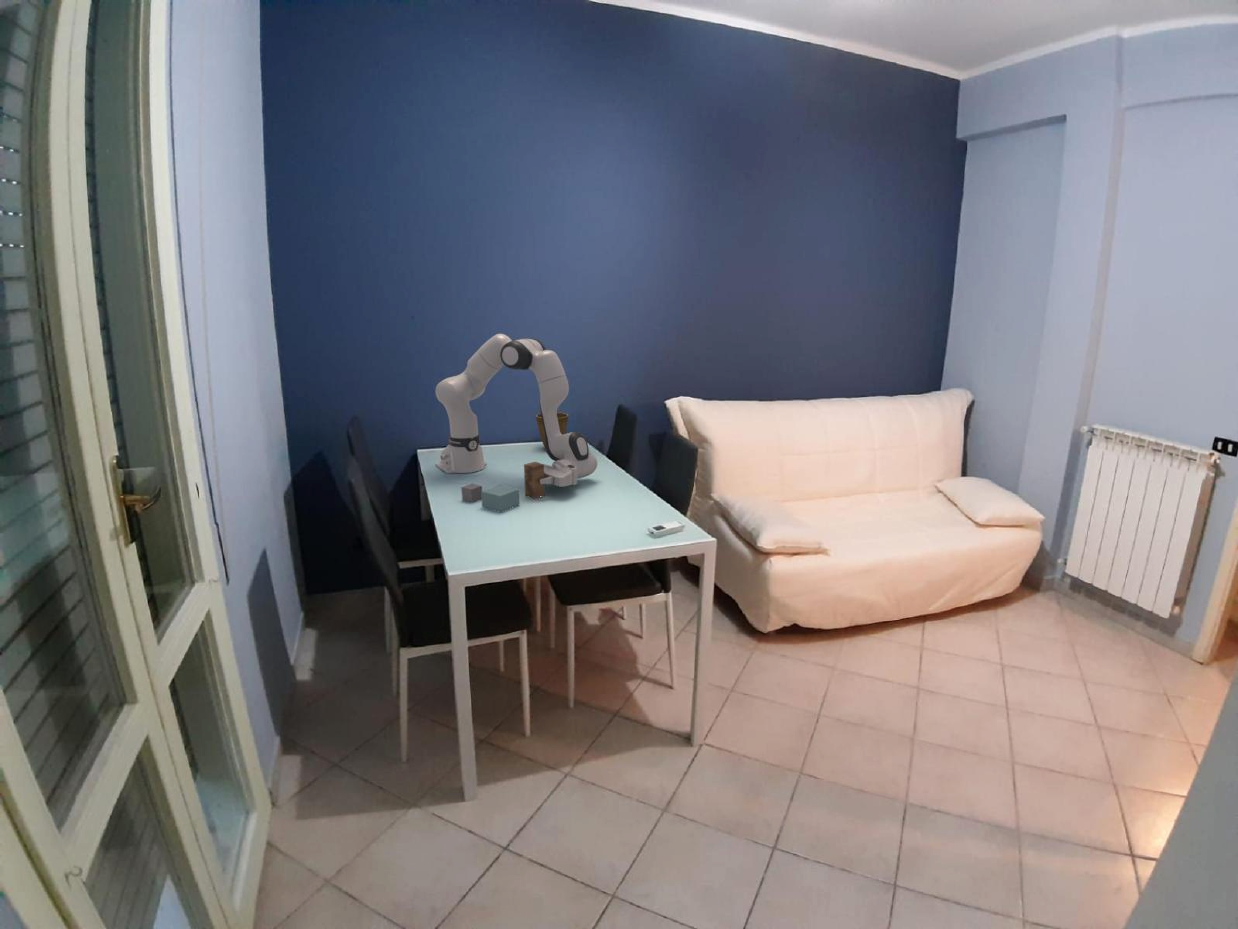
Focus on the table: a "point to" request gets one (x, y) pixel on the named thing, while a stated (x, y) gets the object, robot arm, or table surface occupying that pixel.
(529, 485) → the walnut block
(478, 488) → the charcoal cube
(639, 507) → the table surface
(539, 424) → the plant pot
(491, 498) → the teal base block
